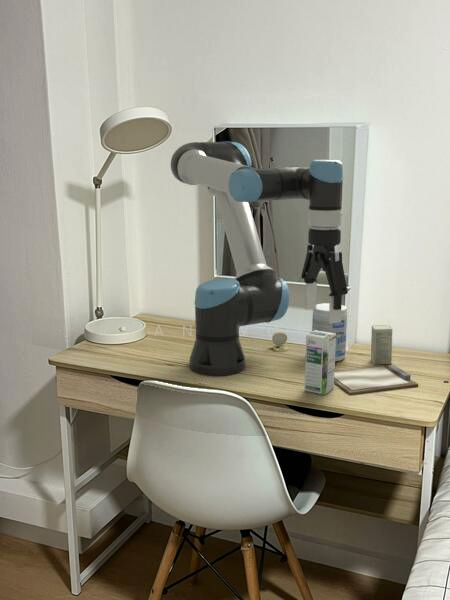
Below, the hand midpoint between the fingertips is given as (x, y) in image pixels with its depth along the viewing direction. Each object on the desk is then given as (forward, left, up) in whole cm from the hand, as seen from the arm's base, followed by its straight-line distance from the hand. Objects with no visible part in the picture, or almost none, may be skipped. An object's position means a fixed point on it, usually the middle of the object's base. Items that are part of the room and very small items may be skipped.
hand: (322, 315), depth 168 cm
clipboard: (-2, +15, -19) cm, 24 cm away
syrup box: (0, 0, -19) cm, 19 cm away
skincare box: (-14, +25, -19) cm, 35 cm away
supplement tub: (-22, +13, -19) cm, 32 cm away
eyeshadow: (-33, +3, -19) cm, 39 cm away
